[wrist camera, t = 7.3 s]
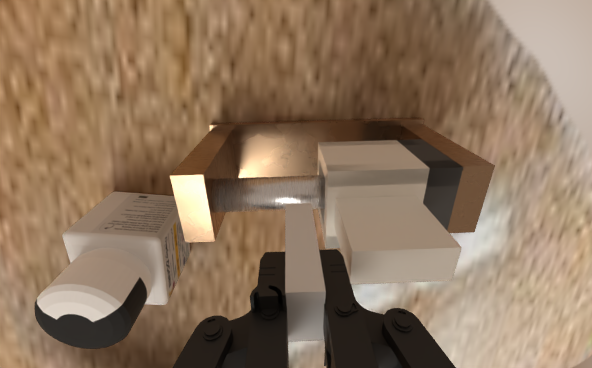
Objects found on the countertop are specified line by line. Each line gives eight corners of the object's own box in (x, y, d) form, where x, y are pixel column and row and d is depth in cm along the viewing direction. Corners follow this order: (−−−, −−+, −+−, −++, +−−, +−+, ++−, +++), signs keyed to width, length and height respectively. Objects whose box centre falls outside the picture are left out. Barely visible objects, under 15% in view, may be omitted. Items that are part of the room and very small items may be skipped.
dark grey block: (387, 203, 24) (414, 245, 19) (396, 140, 22) (429, 168, 17) (410, 203, 24) (443, 244, 19) (422, 139, 22) (463, 167, 17)
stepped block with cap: (317, 206, 24) (337, 311, 14) (318, 142, 22) (343, 218, 12) (387, 203, 24) (453, 306, 15) (396, 140, 22) (483, 213, 12)
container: (191, 253, 34) (140, 363, 22) (123, 248, 33) (33, 360, 21) (187, 195, 30) (125, 290, 18) (112, 189, 30) (-2, 283, 18)
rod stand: (220, 180, 29) (186, 248, 20) (211, 123, 27) (168, 168, 17) (410, 174, 30) (472, 238, 20) (420, 117, 27) (497, 158, 17)
